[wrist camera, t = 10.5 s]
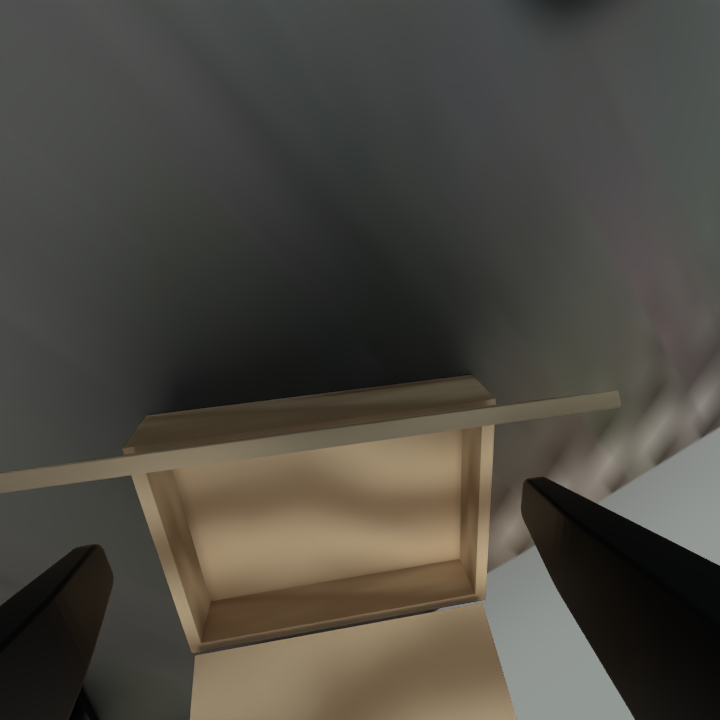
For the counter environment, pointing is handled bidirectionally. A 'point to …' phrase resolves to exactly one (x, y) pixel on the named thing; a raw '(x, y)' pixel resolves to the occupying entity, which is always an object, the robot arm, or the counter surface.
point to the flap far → (361, 674)
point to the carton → (320, 514)
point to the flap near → (301, 441)
